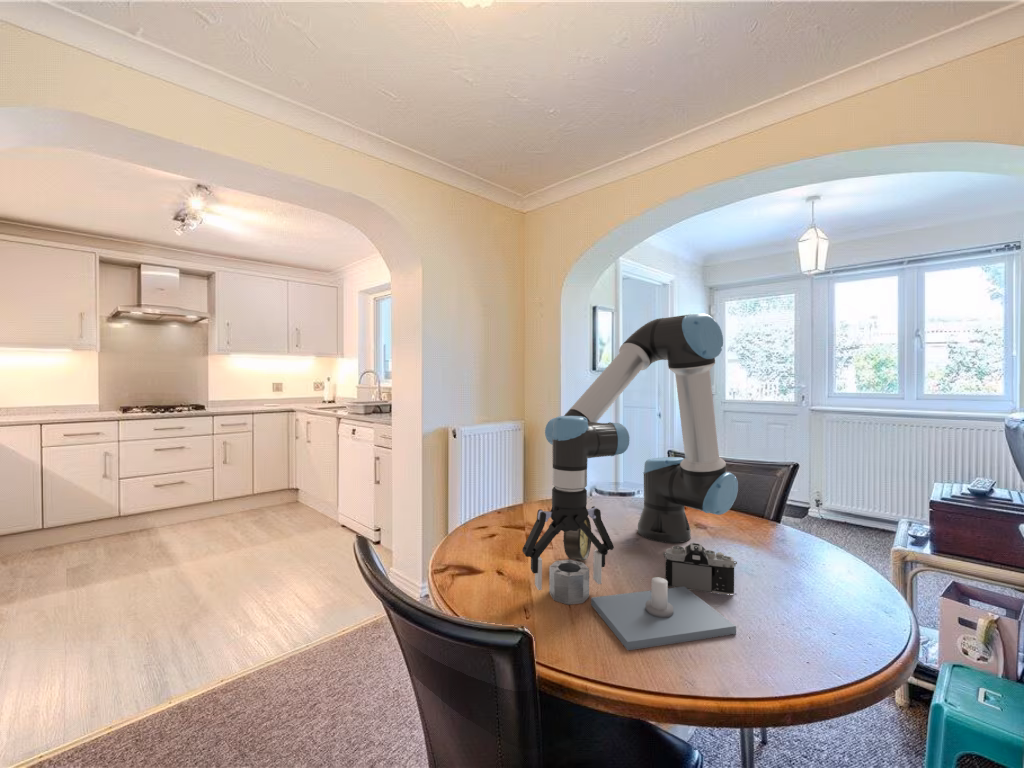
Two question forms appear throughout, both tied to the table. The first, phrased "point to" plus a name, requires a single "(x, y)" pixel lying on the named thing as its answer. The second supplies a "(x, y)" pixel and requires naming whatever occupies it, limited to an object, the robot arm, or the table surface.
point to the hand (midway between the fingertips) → (568, 584)
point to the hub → (569, 581)
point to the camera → (699, 569)
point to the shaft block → (660, 616)
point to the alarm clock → (577, 543)
